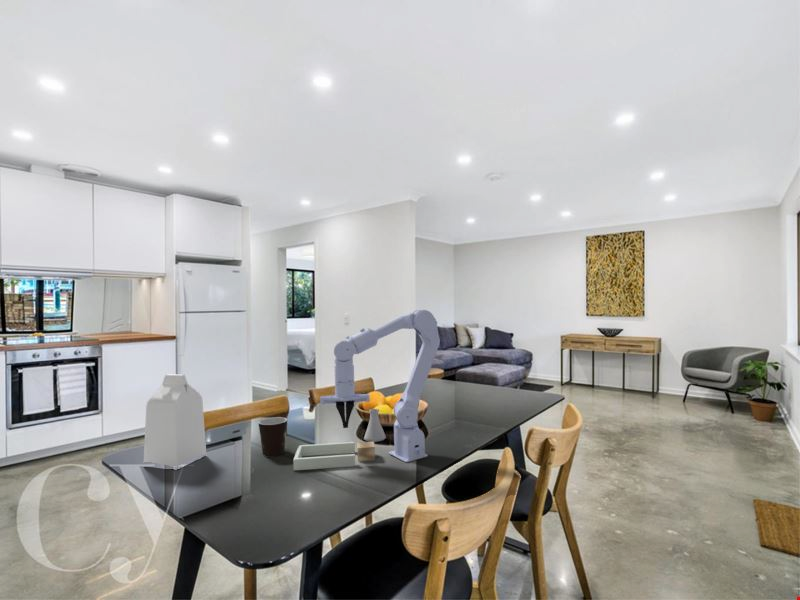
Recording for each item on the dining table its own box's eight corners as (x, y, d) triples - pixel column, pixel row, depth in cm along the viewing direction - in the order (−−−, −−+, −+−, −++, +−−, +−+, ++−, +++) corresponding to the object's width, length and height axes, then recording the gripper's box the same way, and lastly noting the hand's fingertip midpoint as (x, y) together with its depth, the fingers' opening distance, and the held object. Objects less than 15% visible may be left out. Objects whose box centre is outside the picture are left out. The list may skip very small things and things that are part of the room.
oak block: (374, 454, 123) (373, 441, 124) (375, 460, 119) (374, 447, 119) (357, 455, 123) (357, 442, 123) (357, 461, 118) (357, 448, 118)
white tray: (354, 451, 126) (354, 441, 126) (355, 466, 114) (354, 455, 114) (298, 455, 124) (298, 445, 124) (293, 470, 112) (293, 459, 112)
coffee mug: (279, 458, 122) (278, 425, 122) (253, 457, 123) (252, 424, 124) (296, 445, 133) (296, 415, 133) (272, 444, 135) (272, 414, 135)
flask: (375, 444, 133) (375, 413, 133) (359, 440, 137) (359, 410, 138) (389, 438, 139) (389, 408, 139) (373, 434, 143) (373, 406, 143)
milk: (206, 456, 126) (205, 372, 126) (176, 470, 114) (175, 378, 115) (175, 453, 129) (174, 371, 129) (143, 467, 118) (142, 377, 118)
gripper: (318, 384, 116) (319, 432, 115) (369, 382, 118) (370, 429, 117) (320, 380, 123) (321, 425, 122) (368, 378, 125) (369, 422, 124)
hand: (345, 426), depth 120 cm, fingers closed
